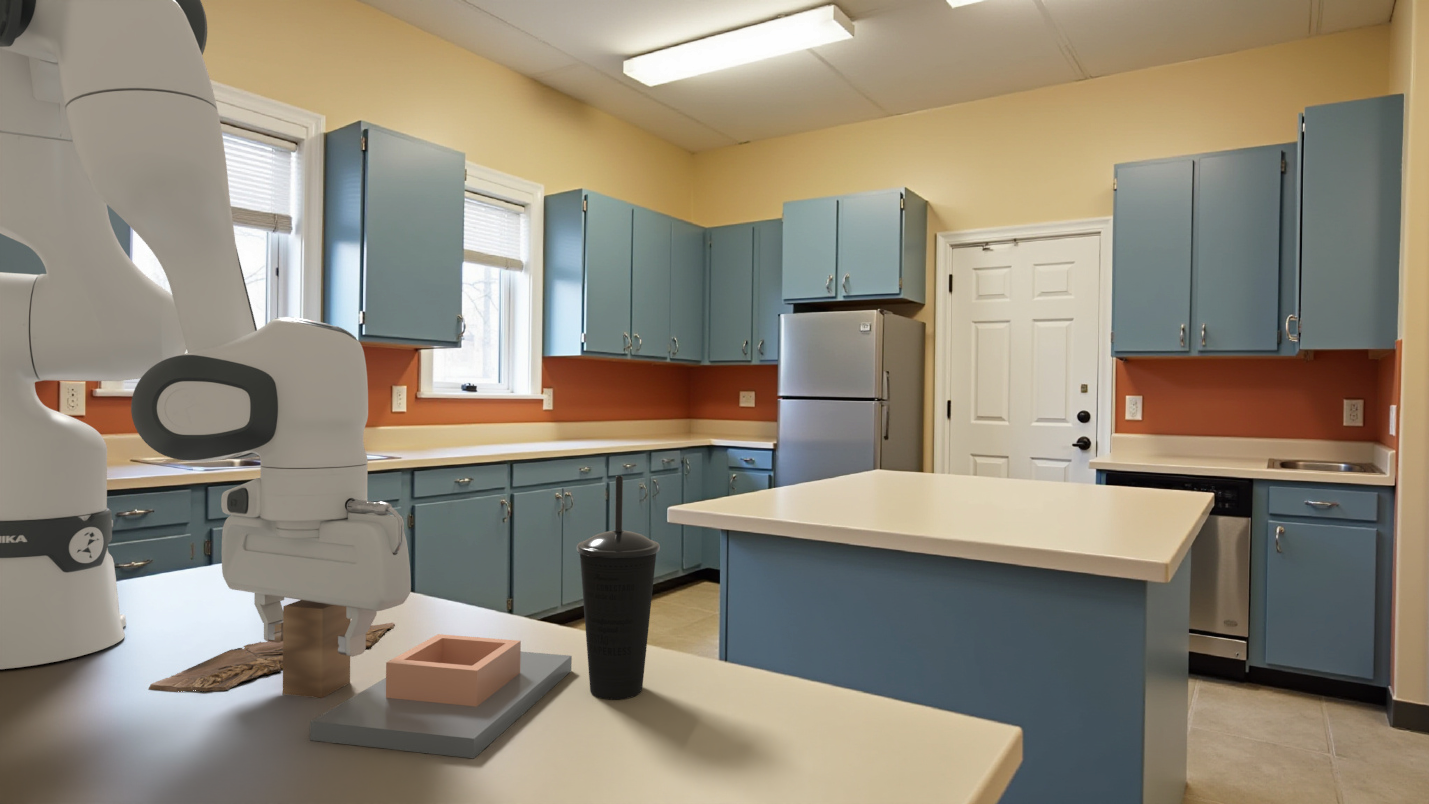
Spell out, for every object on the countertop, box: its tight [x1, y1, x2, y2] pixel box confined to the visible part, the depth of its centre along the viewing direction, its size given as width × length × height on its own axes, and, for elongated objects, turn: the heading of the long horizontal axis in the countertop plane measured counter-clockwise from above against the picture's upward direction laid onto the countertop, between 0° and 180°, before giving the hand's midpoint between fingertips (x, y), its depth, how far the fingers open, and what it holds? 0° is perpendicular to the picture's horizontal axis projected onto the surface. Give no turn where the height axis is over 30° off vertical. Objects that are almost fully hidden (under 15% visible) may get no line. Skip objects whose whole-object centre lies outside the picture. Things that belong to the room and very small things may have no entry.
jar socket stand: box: [309, 633, 573, 759], centre depth 73 cm, size 14×20×4 cm
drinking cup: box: [576, 475, 661, 700], centre depth 76 cm, size 8×8×20 cm
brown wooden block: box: [282, 600, 352, 699], centre depth 76 cm, size 4×4×8 cm
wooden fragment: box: [148, 622, 396, 693], centre depth 85 cm, size 26×11×1 cm, turn 146°
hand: (313, 647), depth 75 cm, fingers open, 8 cm apart
